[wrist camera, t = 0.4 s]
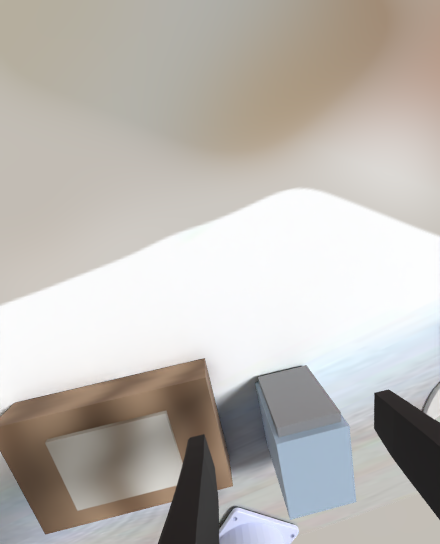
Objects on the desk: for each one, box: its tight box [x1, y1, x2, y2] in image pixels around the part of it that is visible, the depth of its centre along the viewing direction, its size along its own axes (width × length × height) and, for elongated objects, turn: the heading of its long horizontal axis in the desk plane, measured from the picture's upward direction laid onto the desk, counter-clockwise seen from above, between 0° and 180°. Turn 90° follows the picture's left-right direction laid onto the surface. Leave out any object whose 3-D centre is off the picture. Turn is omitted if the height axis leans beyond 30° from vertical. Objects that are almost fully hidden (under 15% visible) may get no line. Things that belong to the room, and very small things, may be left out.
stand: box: [0, 358, 233, 534], centre depth 20 cm, size 16×11×3 cm
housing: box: [255, 365, 356, 520], centre depth 19 cm, size 8×5×6 cm, turn 12°
